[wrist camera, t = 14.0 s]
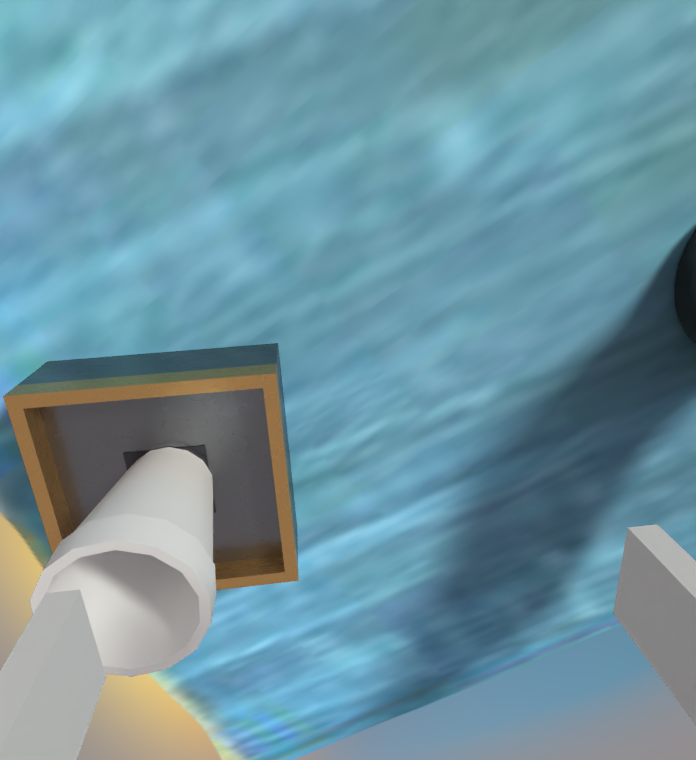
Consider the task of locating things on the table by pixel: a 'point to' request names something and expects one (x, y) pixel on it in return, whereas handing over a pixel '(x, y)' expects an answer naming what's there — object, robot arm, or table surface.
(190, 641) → the foam cup
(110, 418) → the wooden drawer tray
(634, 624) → the robot arm
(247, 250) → the table surface
